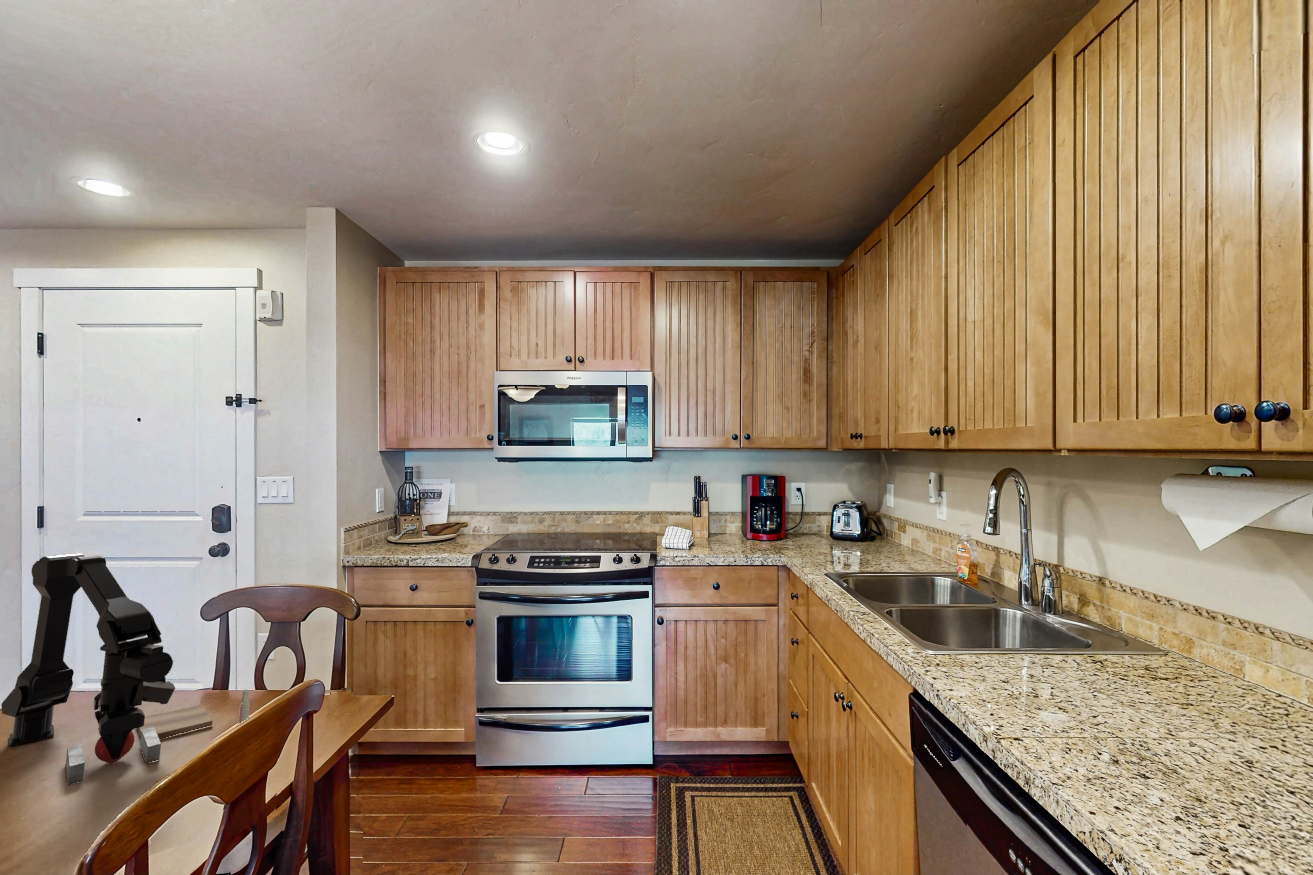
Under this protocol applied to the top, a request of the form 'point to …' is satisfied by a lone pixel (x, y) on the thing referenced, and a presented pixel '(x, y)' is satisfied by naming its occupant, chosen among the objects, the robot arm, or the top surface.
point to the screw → (244, 706)
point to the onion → (104, 754)
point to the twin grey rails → (76, 760)
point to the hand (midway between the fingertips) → (113, 752)
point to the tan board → (177, 721)
